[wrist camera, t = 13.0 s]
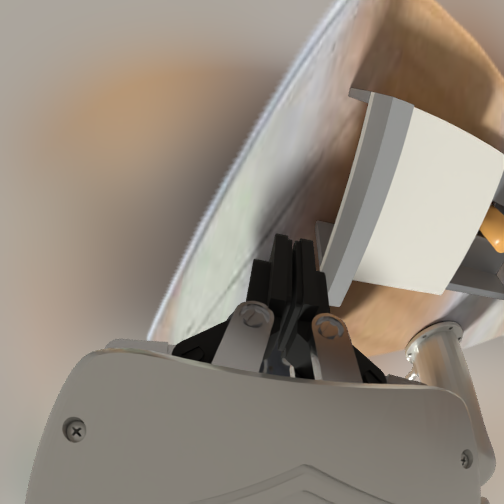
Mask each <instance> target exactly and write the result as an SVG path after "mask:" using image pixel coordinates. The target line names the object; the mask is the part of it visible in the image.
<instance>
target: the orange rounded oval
mask: <svg viewBox="0 0 504 504" xmlns="http://www.w3.org/2000/svg"><path fill="white" fill-rule="evenodd" d="M479 230H480V231H481V233H482V234H483V235H484V236H485V237H486V239H487V240H488V241H489V242H490V243H491V245H492V246H493V247H494V248H495V250H496V251H497V252H499V253H504V215H503V214H502V213H501V212H500V211H499V210H498V209H497V208H496V207H495V206H493V205H492V204H490V207H489V209H488V211H487V213H486V215H485V218H484V220H483V222H482V224H481V226H480V228H479Z"/></svg>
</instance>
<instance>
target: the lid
mask: <svg viewBox="0 0 504 504" xmlns="http://www.w3.org/2000/svg"><path fill="white" fill-rule="evenodd" d="M503 171H504V154H503V153H501V152H500V151H498V150H497V149H495V148H493V147H492V146H490V145H488V144H487V143H485V142H483V141H482V140H480V139H478V138H476V137H475V136H473V135H471V134H469V133H467V132H466V131H464V130H462V129H460V128H458V127H456V126H454V125H452V124H450V123H448V122H446V121H444V120H442V119H440V118H438V117H436V116H433V115H431V114H429V113H427V112H424V111H422V110H420V109H417V108H415V107H414V105H413V104H410V103H408V102H405V101H403V100H400V99H398V98H395V97H392V96H388V95H383V94H379V93H375V92H371V94H370V99H369V103H368V107H367V112H366V116H365V120H364V124H363V128H362V132H361V136H360V140H359V143H358V147H357V151H356V155H355V158H354V162H353V165H352V169H351V172H350V176H349V179H348V183H347V186H346V189H345V193H344V196H343V199H342V203H341V206H340V209H339V212H338V215H337V218H336V222H335V225H334V228H333V231H332V234H331V237H330V240H329V243H328V246H327V248H326V251H325V254H324V257H323V260H322V263H321V266H320V272H324V273H325V275H326V282H327V290H328V299H329V306H336V307H340V305H341V303H342V301H343V299H344V297H345V295H346V293H347V291H348V289H349V286H350V284H351V282H352V280H355V281H361V282H366V283H372V284H378V285H384V286H390V287H396V288H401V289H407V290H413V291H419V292H425V293H431V294H438V295H442V293H443V292H444V290H445V289H446V287H447V285H448V284H449V282H450V281H451V279H452V277H453V276H454V274H455V272H456V271H457V269H458V267H459V266H460V264H461V262H462V260H463V259H464V257H465V255H466V253H467V251H468V250H469V248H470V246H471V244H472V242H473V240H474V238H475V236H476V234H477V232H478V230H479V228H480V226H481V224H482V222H483V220H484V218H485V215H486V213H487V211H488V209H489V207H490V204H491V202H492V200H493V197H494V195H495V192H496V190H497V187H498V185H499V182H500V179H501V177H502V174H503Z"/></svg>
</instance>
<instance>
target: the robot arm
mask: <svg viewBox="0 0 504 504" xmlns="http://www.w3.org/2000/svg"><path fill="white" fill-rule="evenodd" d="M462 336H463V331H462V328H461V326H460V325H459V324H458V323H456V322H451V321H447V322H441V323H437V324H434V325H432V326H430V327H428V328H426V329H424V330H423V331H421V332H420V333H418V334H417V335H416V336H415V337H414V338H413V339H412V340H411V341H410V342H409V344H408V345H407V347H406V350H405V355H406V358H407V360H408V361H409V362H410V363H412V364H413V367H412V371H411V372H409V373H408V375H406V376H405V378H402V377H398V376H394V375H390V374H389V375H387V376H385V375H384V373H383V372H382V371H381V370H380V369H379V368H378V367H377V366H376V365H374V364H373V363H372V362H371V361H370V360H369V359H368V358H367V357H365V356H364V355H363V354H362V353H361V352H360V351H359V350H358V349H356V348H355V347H354V346H353V345H352V343H351V339H350V336H349V333H348V329H347V327H346V325H345V323H344V322H343V321H342V320H341V319H340V318H339V317H337V316H335V315H333V314H330V308H329V299H328V290H327V282H326V275H325V273H324V272H320V271H316V264H315V255H314V246H313V241H311V240H306V239H300V241H295V243H294V247H293V250H292V240H289V239H288V236H286V235H281V234H276V235H275V239H274V243H273V247H272V251H271V255H270V260H269V262H267V261H262V260H257V259H254V261H253V266H252V271H251V277H250V282H249V287H248V292H247V298H246V302H243V303H241V304H240V305H238V306H237V308H236V309H235V311H234V313H233V316H232V318H231V319H229V320H227V321H225V322H223V323H220V324H218V325H216V326H214V327H212V328H210V329H208V330H205V331H203V332H201V333H199V334H197V335H195V336H192V337H190V338H188V339H186V340H183V341H181V342H180V343H178V344H177V345H168V342H157V341H142V340H129V339H115V340H113V341H111V342H109V343H108V344H107V345H106V347H105V349H101V350H97V351H93V352H91V353H89V354H87V355H86V356H84V357H83V358H82V359H81V360H80V361H79V362H78V363H77V364H76V366H75V367H74V368H73V370H72V371H71V373H70V375H69V376H68V378H67V380H66V381H65V383H64V385H63V387H62V389H61V391H60V393H59V395H58V397H57V399H56V402H55V404H54V406H53V408H52V411H51V413H50V415H49V418H48V421H47V423H46V426H45V429H44V432H43V435H42V438H41V440H40V443H39V446H38V449H37V453H36V457H35V460H34V464H33V468H32V472H31V476H30V480H29V484H28V490H27V494H26V501H25V504H489V501H488V500H487V498H485V497H481V495H480V494H481V492H480V491H481V490H480V487H481V486H482V485H484V484H485V483H486V482H487V481H488V480H489V479H490V478H491V476H492V475H493V473H494V470H495V466H496V459H495V454H494V451H493V448H492V445H491V442H490V440H489V437H488V434H487V431H486V428H485V425H484V422H483V418H482V414H481V411H480V407H479V403H478V399H477V395H476V392H475V389H474V385H473V382H472V379H471V375H470V372H469V369H468V366H467V363H466V360H465V358H464V355H463V352H462V349H461V347H460V344H459V343H460V341H461V339H462ZM277 340H278V347H277V349H278V350H280V351H282V352H281V358H285V359H286V360H287V361H288V362H289V363H290V364H291V365H290V377H286V376H279V375H272V374H265V373H258V372H259V369H260V366H261V363H262V361H264V360H265V359H267V358H269V357H270V355H271V353H272V350H273V349H274V348H275V346H276V343H277ZM417 376H418V377H419V380H420V382H418V381H414V379H415V378H416V377H417ZM84 423H85V424H84Z"/></svg>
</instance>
